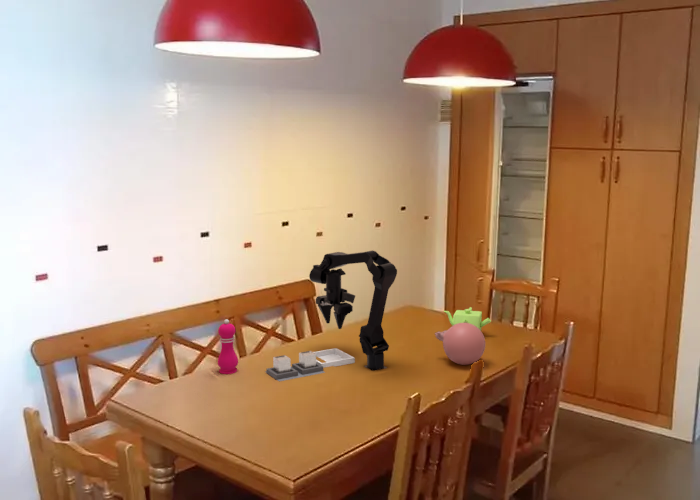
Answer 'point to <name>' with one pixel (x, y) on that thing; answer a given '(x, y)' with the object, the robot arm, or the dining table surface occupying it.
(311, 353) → the billet loose
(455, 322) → the kettle
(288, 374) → the plate
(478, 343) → the balloon
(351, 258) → the robot arm
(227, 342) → the pepper mill
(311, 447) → the dining table surface
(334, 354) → the white square tray
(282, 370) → the block
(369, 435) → the dining table surface
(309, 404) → the dining table surface
